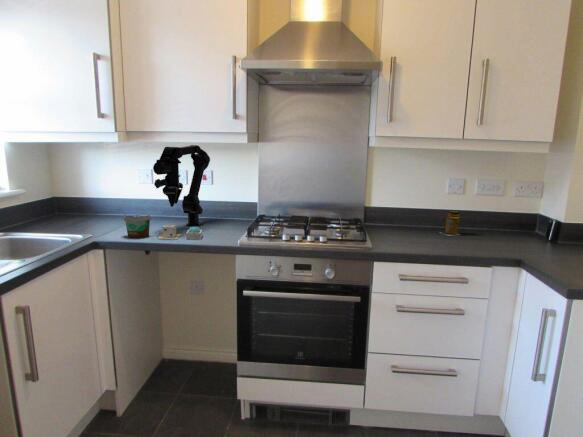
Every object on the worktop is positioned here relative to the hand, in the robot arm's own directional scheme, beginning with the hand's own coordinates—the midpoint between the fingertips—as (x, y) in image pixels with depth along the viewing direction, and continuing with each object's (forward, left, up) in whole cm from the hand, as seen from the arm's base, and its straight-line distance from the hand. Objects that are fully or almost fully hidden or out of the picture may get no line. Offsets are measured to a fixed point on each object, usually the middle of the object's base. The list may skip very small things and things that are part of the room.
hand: (173, 205), depth 182 cm
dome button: (+14, +12, -12) cm, 22 cm away
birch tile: (+12, 0, -13) cm, 18 cm away
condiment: (+7, +141, -13) cm, 142 cm away
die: (+12, 0, -13) cm, 17 cm away
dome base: (+14, +11, -13) cm, 22 cm away
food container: (+12, -15, -13) cm, 23 cm away
